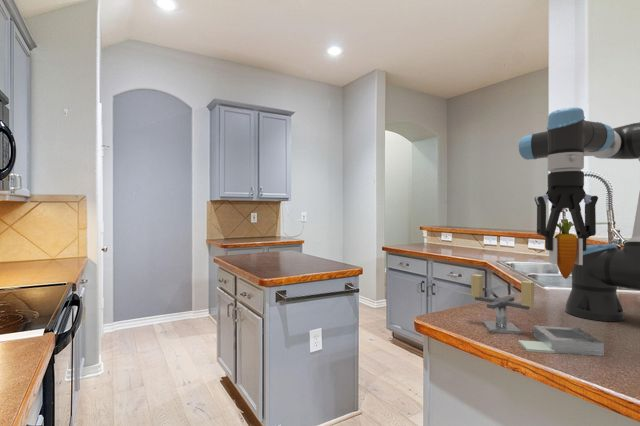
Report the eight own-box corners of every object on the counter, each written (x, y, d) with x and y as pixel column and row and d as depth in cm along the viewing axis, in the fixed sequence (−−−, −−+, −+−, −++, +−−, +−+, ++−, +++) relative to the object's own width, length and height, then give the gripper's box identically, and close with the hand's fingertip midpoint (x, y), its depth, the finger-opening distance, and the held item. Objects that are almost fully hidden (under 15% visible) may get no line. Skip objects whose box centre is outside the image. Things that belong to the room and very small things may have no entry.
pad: (543, 344, 90) (543, 341, 90) (554, 353, 84) (554, 350, 84) (518, 342, 91) (518, 340, 91) (527, 351, 85) (527, 348, 85)
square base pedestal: (511, 325, 105) (511, 301, 105) (521, 334, 97) (521, 308, 97) (482, 323, 107) (482, 300, 107) (489, 332, 99) (489, 307, 99)
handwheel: (461, 303, 103) (461, 277, 103) (483, 295, 113) (483, 272, 113) (522, 315, 91) (522, 286, 91) (541, 305, 100) (541, 279, 100)
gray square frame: (579, 339, 93) (579, 328, 93) (603, 356, 82) (603, 343, 82) (533, 336, 95) (533, 325, 95) (551, 352, 84) (551, 339, 84)
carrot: (570, 281, 85) (570, 219, 85) (549, 277, 90) (549, 219, 90) (582, 279, 88) (582, 219, 88) (560, 276, 92) (560, 219, 92)
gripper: (532, 170, 87) (532, 265, 87) (615, 168, 83) (615, 267, 83) (521, 174, 94) (521, 261, 94) (597, 172, 91) (597, 262, 91)
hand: (565, 263), depth 89 cm, fingers closed on carrot, 5 cm apart
